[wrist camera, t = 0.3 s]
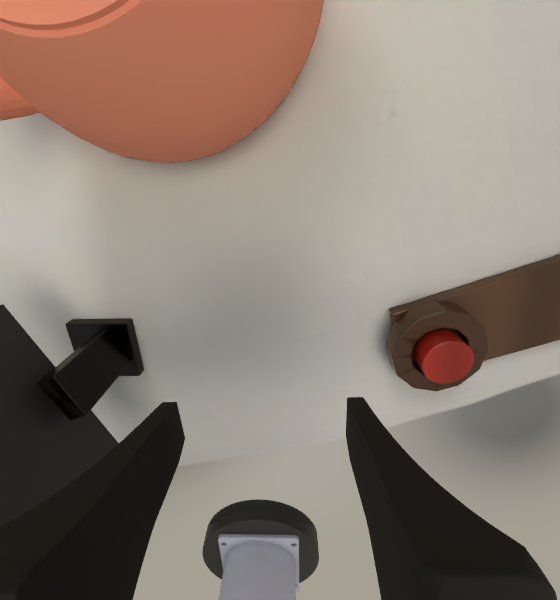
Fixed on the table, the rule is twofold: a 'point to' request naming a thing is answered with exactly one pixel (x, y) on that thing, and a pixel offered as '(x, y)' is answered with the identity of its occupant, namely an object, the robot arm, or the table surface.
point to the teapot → (153, 69)
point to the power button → (443, 356)
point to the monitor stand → (92, 364)
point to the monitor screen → (37, 428)
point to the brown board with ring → (481, 319)
